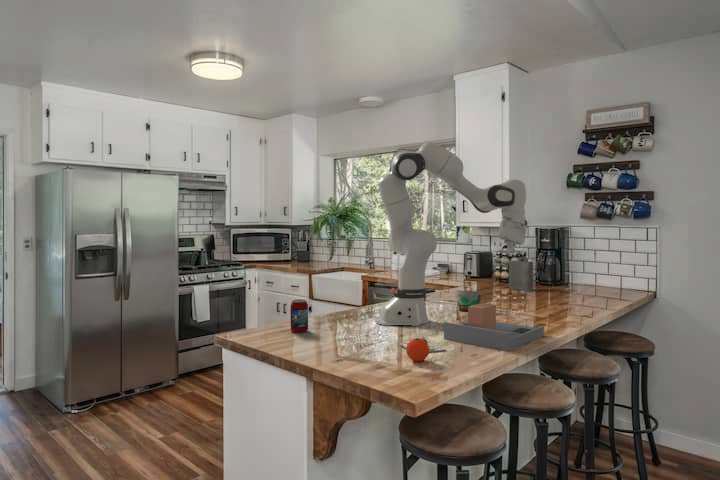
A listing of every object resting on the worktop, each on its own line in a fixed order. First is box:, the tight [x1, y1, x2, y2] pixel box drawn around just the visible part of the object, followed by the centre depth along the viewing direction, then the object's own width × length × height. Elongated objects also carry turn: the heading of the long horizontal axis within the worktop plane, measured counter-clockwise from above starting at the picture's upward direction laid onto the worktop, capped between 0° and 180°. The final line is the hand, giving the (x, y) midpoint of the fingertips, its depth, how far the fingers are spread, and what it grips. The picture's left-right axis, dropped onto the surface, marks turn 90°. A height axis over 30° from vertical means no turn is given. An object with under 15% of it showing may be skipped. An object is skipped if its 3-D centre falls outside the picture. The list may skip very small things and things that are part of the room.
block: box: [467, 302, 497, 330], centre depth 174 cm, size 10×6×10 cm, turn 137°
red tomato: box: [405, 337, 430, 362], centre depth 149 cm, size 8×7×7 cm
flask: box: [508, 256, 534, 293], centre depth 295 cm, size 15×6×20 cm, turn 41°
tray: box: [443, 321, 545, 352], centre depth 178 cm, size 29×25×6 cm
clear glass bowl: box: [399, 335, 447, 353], centre depth 164 cm, size 12×12×5 cm
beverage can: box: [290, 298, 309, 334], centre depth 188 cm, size 7×7×12 cm
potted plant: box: [455, 289, 483, 313], centre depth 228 cm, size 12×6×10 cm, turn 68°
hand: (510, 252), depth 199 cm, fingers closed
